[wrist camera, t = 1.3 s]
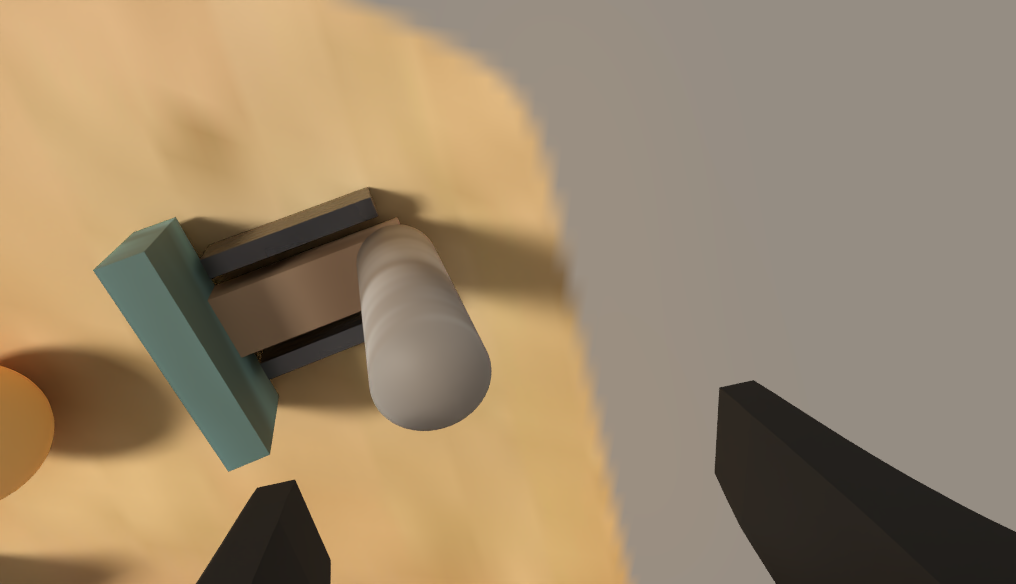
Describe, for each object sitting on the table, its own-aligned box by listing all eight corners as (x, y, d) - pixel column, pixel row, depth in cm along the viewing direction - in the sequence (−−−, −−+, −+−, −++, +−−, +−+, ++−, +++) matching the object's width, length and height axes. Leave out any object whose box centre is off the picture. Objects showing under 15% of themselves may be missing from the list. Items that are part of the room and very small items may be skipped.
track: (273, 358, 20) (268, 379, 19) (208, 245, 18) (199, 260, 17) (415, 302, 20) (421, 319, 19) (367, 186, 19) (370, 197, 17)
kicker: (243, 409, 20) (190, 624, 12) (133, 232, 17) (-18, 374, 10) (461, 322, 21) (532, 473, 13) (391, 139, 18) (432, 205, 11)
